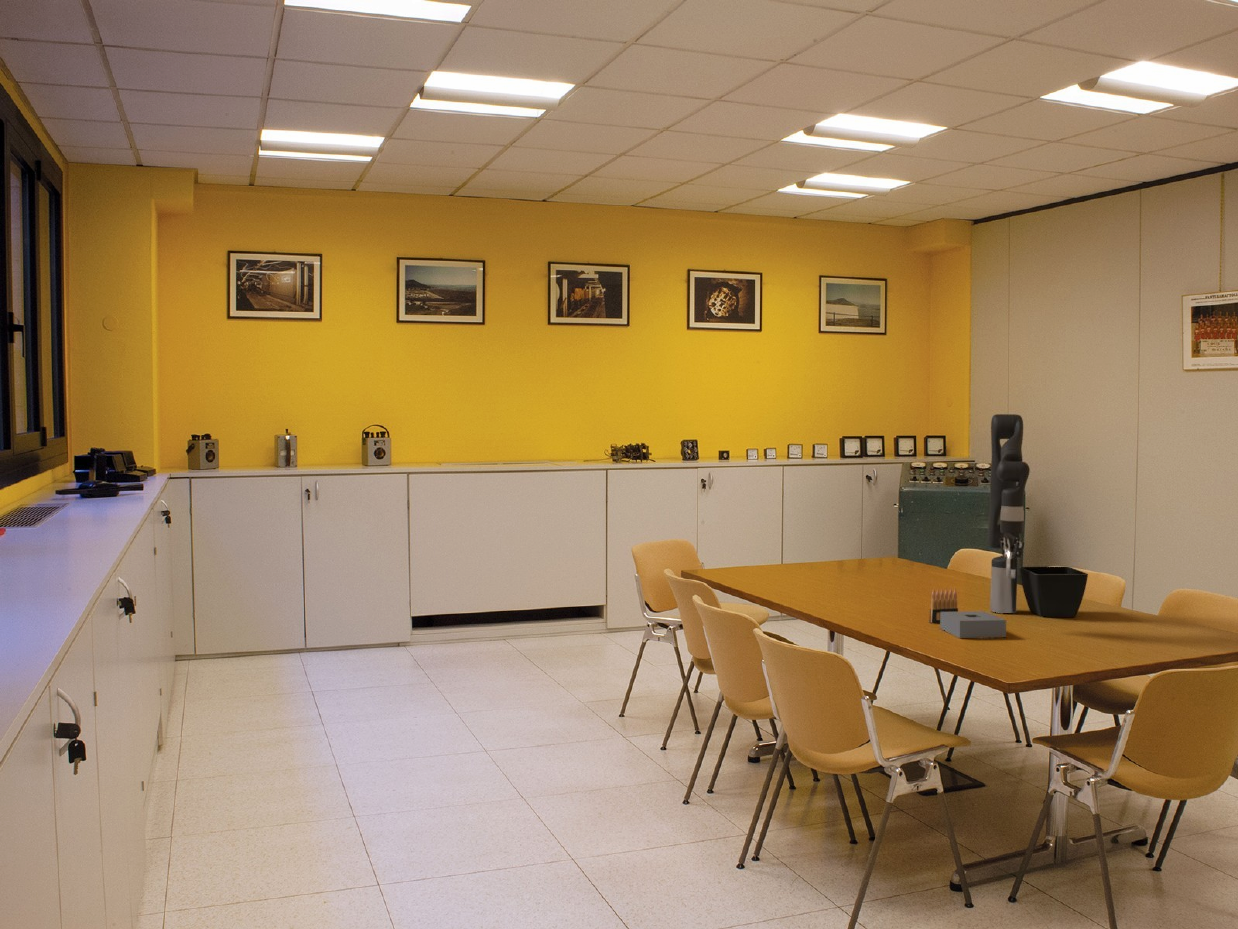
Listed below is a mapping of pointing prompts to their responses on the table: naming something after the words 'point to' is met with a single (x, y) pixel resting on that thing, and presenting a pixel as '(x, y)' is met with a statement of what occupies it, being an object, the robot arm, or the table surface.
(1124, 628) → the table surface
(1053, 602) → the flower pot
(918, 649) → the table surface
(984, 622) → the socket block
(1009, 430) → the robot arm
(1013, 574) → the metal pin
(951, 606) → the ammunition clip
